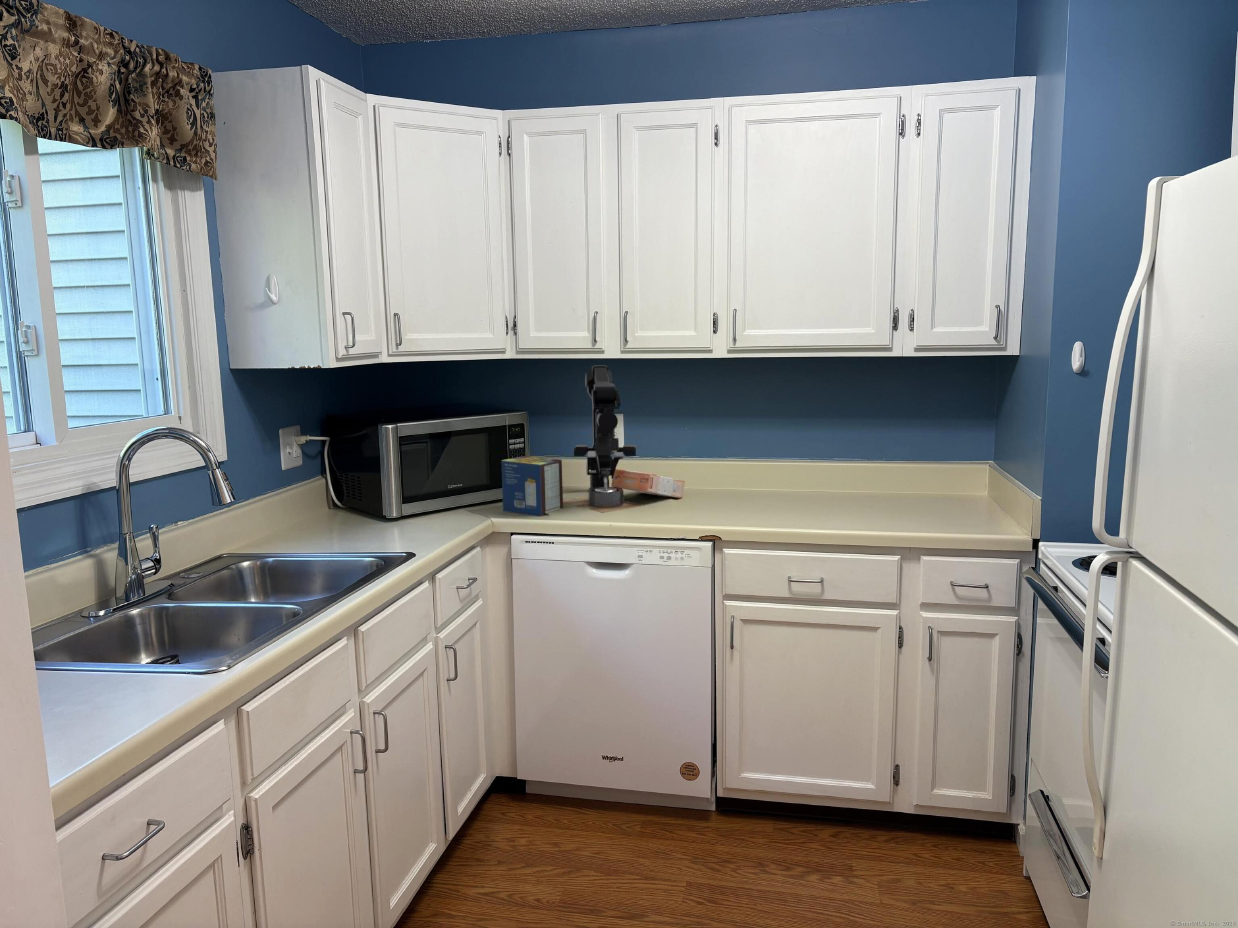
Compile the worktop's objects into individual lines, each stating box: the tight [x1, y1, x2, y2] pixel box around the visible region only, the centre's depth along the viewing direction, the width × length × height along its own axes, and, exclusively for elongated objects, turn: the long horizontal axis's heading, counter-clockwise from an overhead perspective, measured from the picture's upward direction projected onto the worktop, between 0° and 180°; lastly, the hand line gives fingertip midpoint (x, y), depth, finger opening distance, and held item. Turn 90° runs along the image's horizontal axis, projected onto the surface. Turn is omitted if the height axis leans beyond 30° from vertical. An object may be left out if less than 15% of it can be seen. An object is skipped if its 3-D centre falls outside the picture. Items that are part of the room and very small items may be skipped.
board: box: [563, 496, 645, 514], centre depth 264 cm, size 22×16×1 cm
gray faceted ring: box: [587, 486, 624, 508], centre depth 263 cm, size 13×10×4 cm
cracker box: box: [610, 468, 686, 499], centre depth 271 cm, size 14×6×21 cm
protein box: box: [500, 455, 564, 517], centre depth 257 cm, size 10×15×16 cm
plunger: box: [595, 468, 617, 492], centre depth 261 cm, size 7×7×7 cm
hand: (605, 478), depth 261 cm, fingers closed on plunger, 4 cm apart
